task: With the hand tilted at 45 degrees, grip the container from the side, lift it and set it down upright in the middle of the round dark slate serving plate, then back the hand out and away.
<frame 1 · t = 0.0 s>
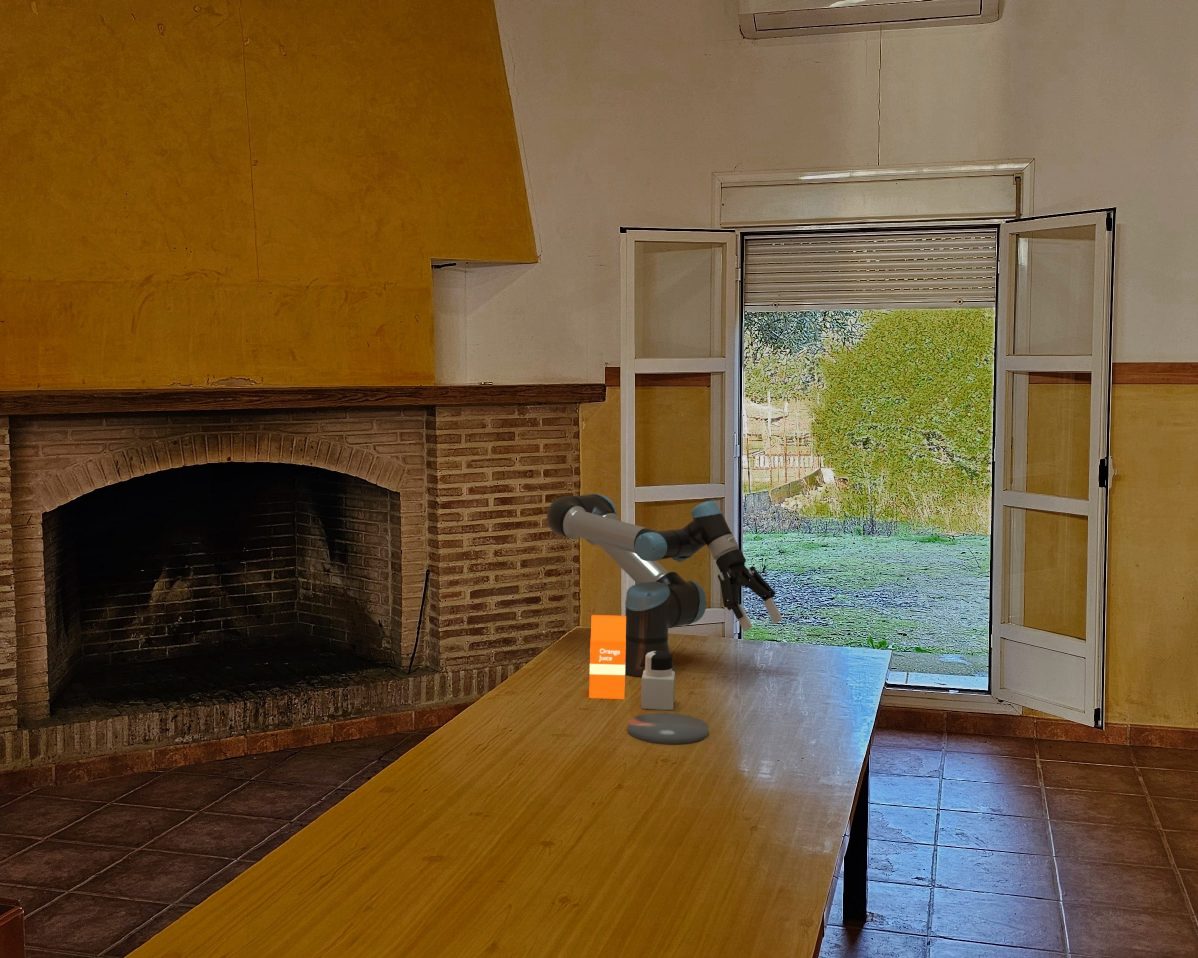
hand: (763, 625, 292), 15 cm above the table, tool tilted 35°, fingers open, 13 cm apart
container: (657, 706, 271), on the table
slate plate: (667, 731, 250), on the table
orange juice: (606, 694, 280), on the table
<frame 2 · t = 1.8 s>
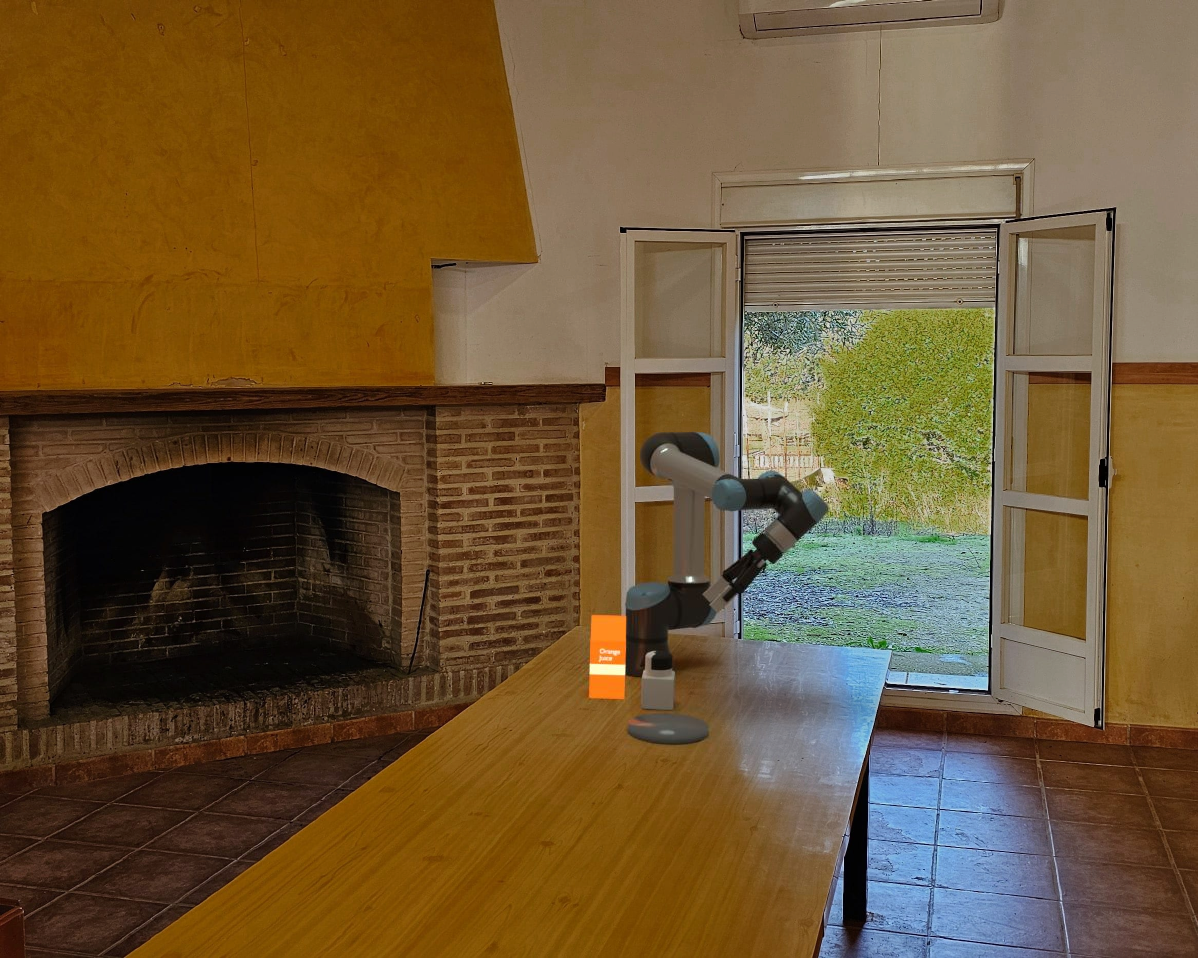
hand: (709, 603, 269), 25 cm above the table, tool tilted 45°, fingers open, 13 cm apart
nothing on the table moved.
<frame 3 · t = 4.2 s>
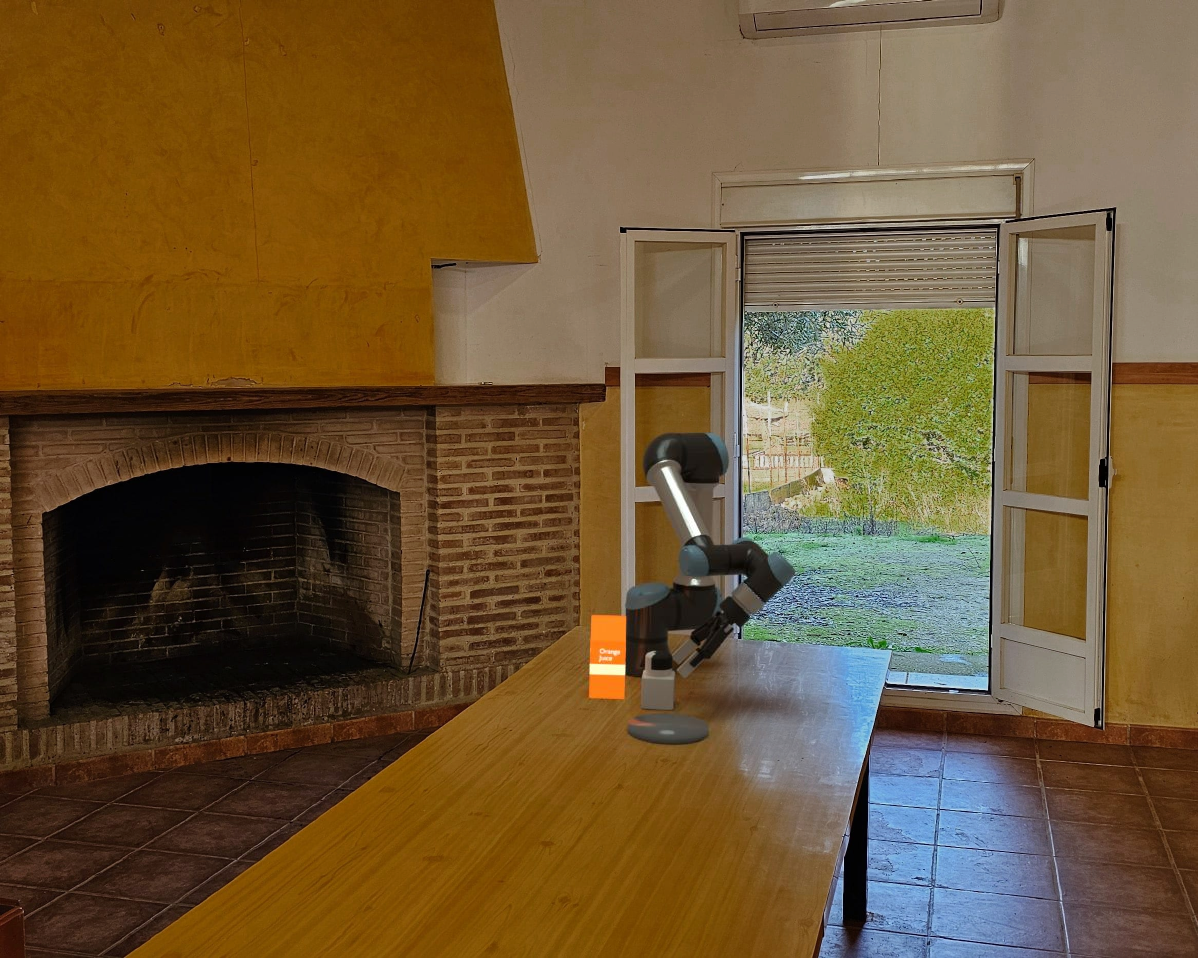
hand: (677, 667, 269), 10 cm above the table, tool tilted 45°, fingers open, 13 cm apart
nothing on the table moved.
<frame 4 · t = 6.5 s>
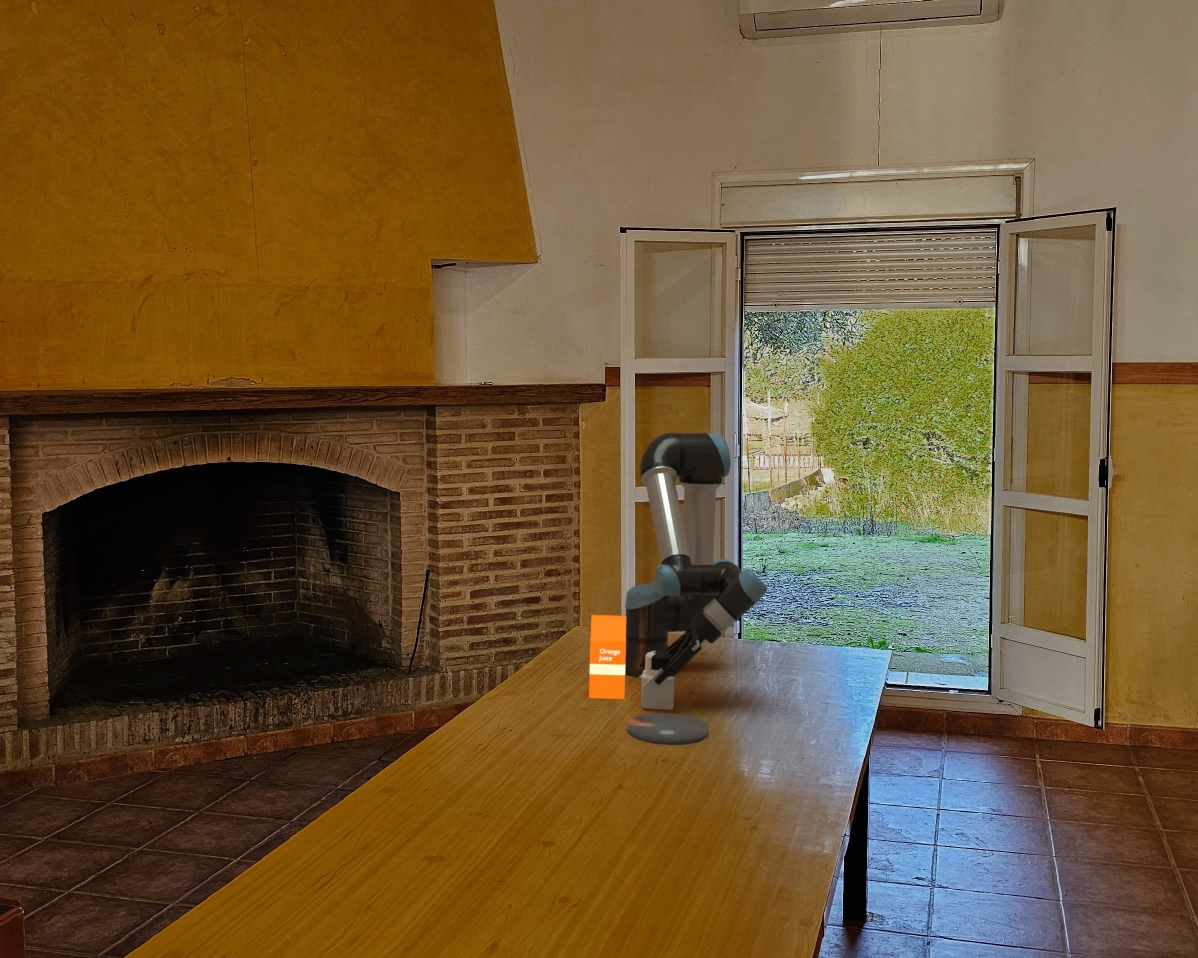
hand: (644, 685, 270), 5 cm above the table, tool tilted 45°, fingers closed on container, 8 cm apart
container: (657, 706, 271), on the table, touching gripper
everything else where it was.
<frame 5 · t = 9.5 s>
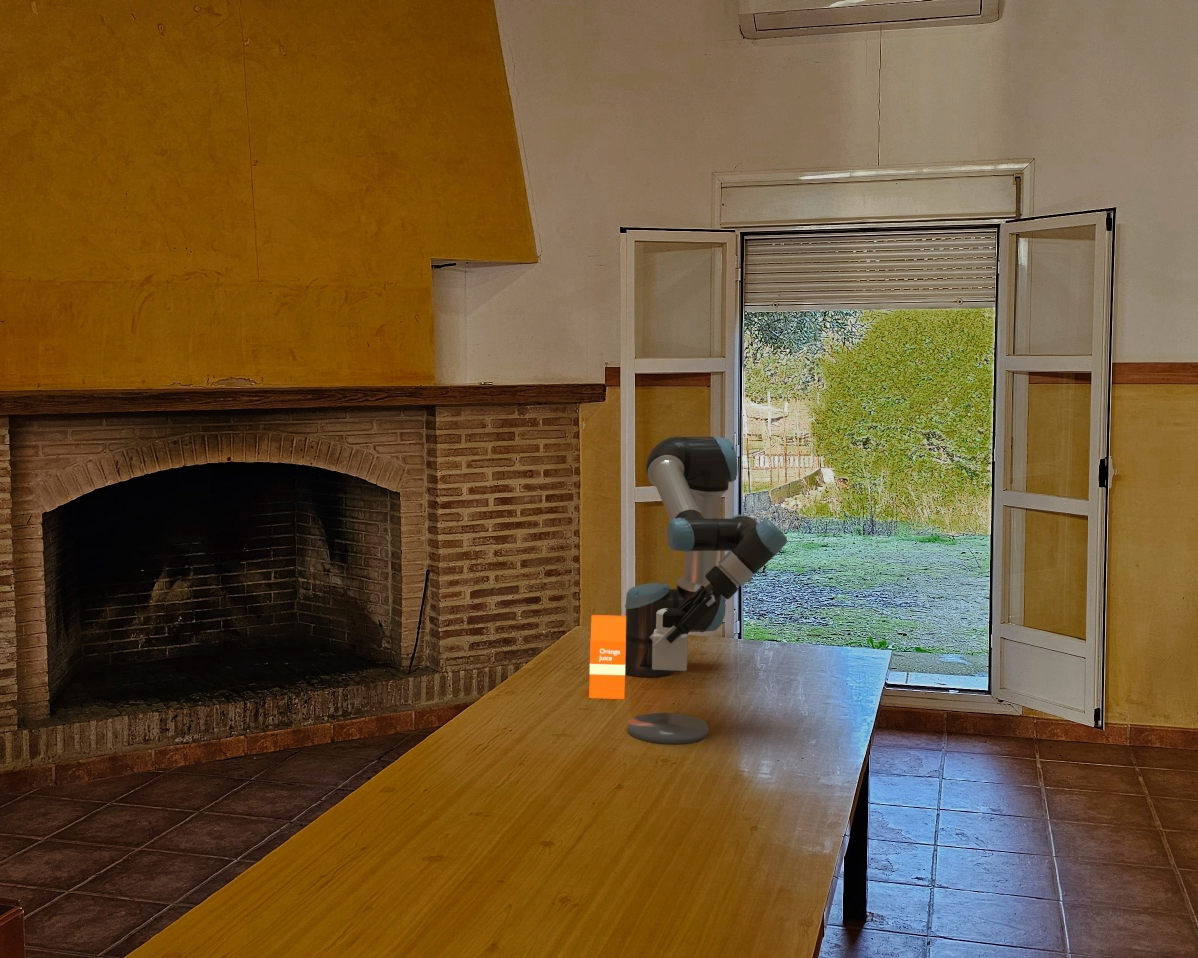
hand: (655, 645, 251), 19 cm above the table, tool tilted 45°, fingers closed on container, 8 cm apart
container: (669, 667, 251), point 14 cm above the table, touching gripper
everything else where it was.
when the fingers open (8 cm above the table, at t = 12.6 s): container drops 1 cm, resting on slate plate.
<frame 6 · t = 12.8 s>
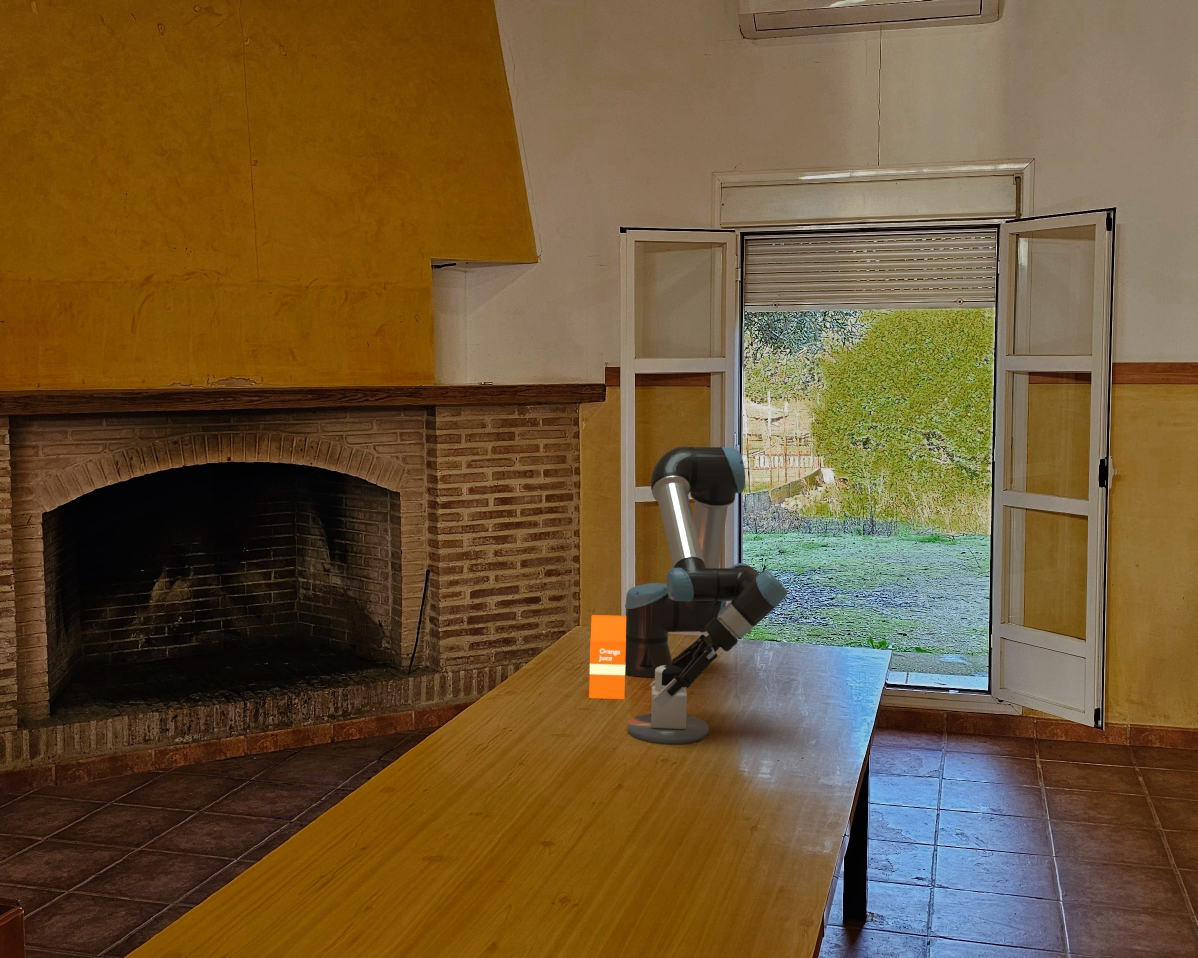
hand: (655, 696, 250), 8 cm above the table, tool tilted 45°, fingers open, 10 cm apart
container: (668, 724, 250), point 1 cm above the table, touching slate plate
everything else where it was.
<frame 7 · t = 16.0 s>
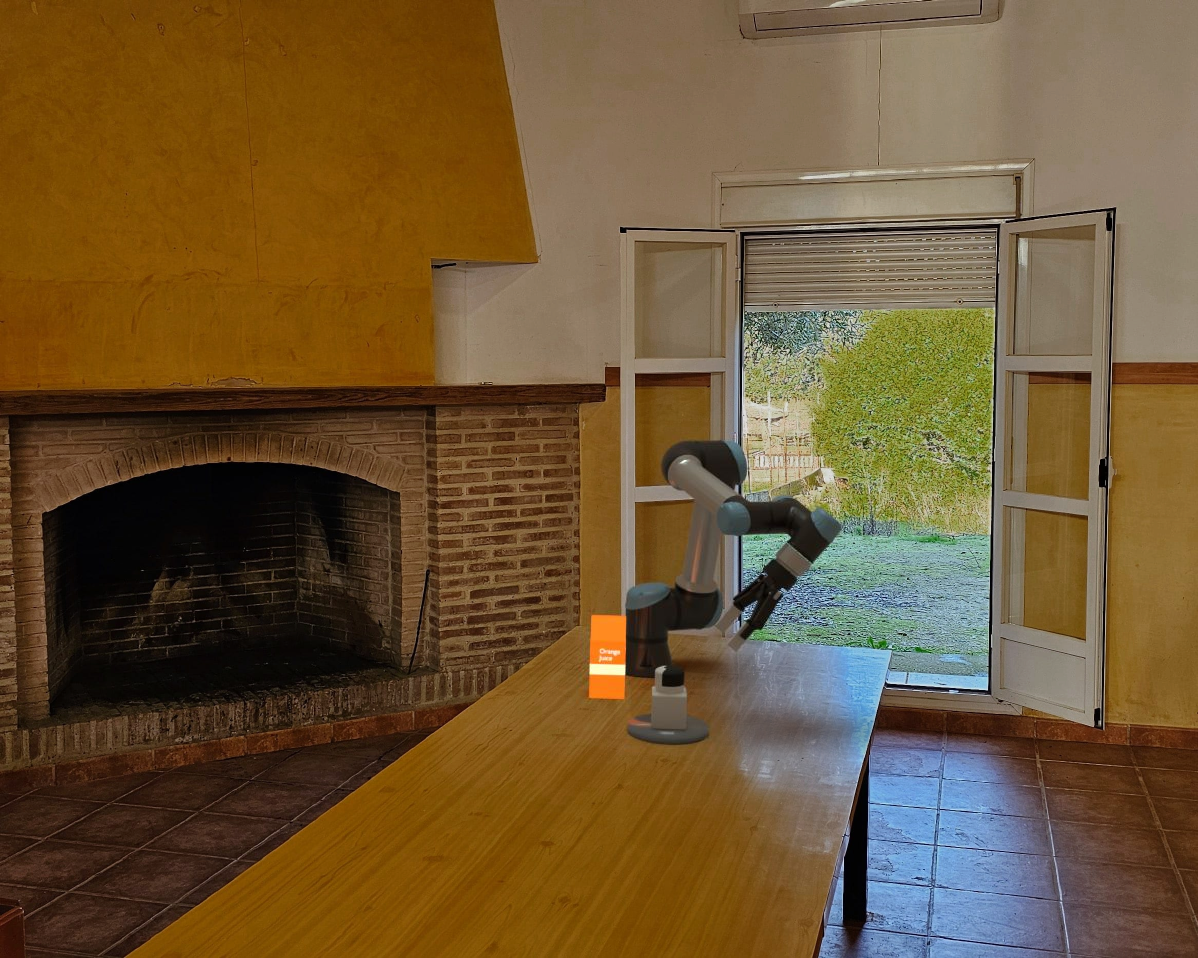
hand: (724, 638, 253), 20 cm above the table, tool tilted 40°, fingers open, 13 cm apart
nothing on the table moved.
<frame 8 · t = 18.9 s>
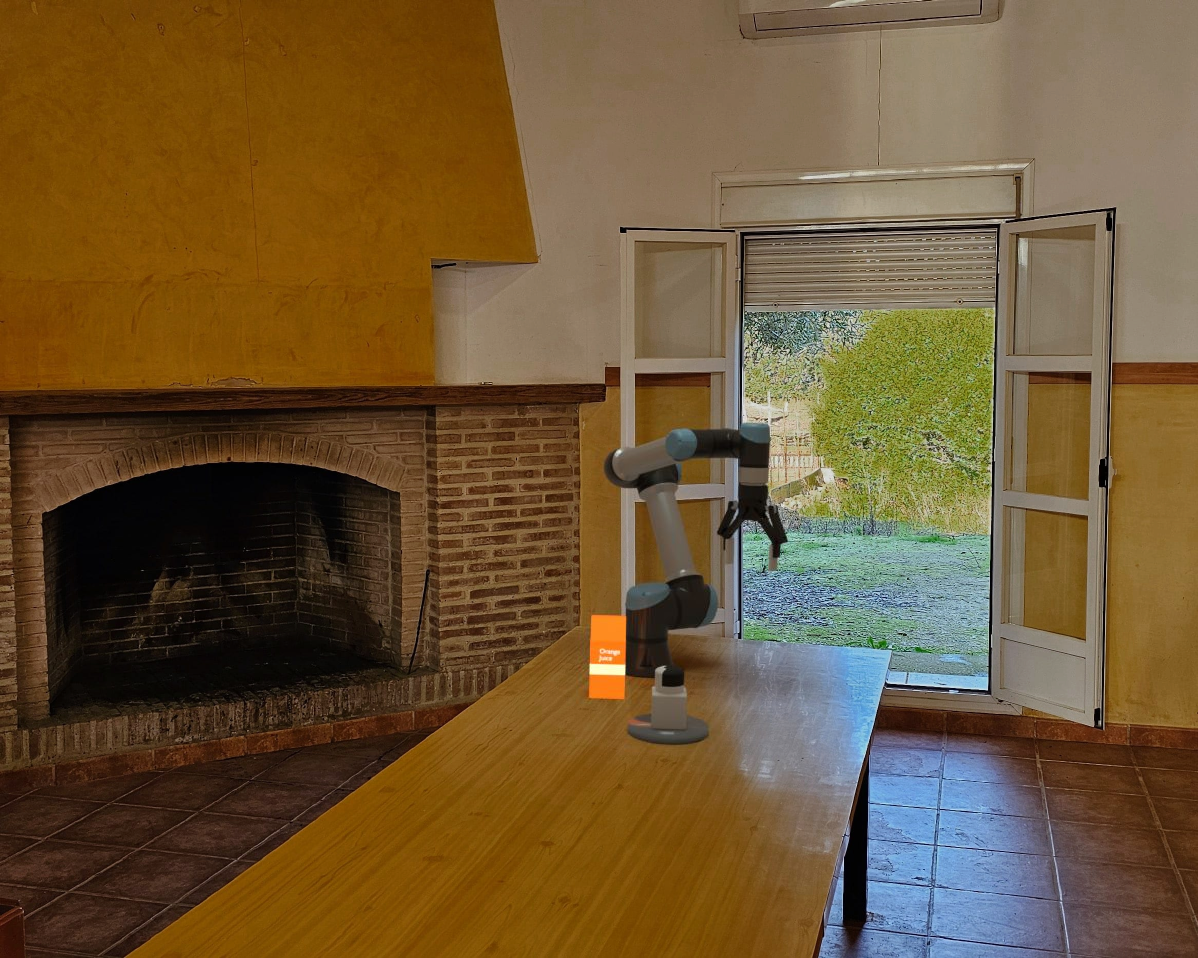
hand: (750, 567, 284), 32 cm above the table, tool pointing down, fingers open, 13 cm apart
nothing on the table moved.
at the end: container inside the target area (0.1 cm from its centre), point 1.3 cm above the table; container tilted 0°; the gripper is holding nothing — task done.
